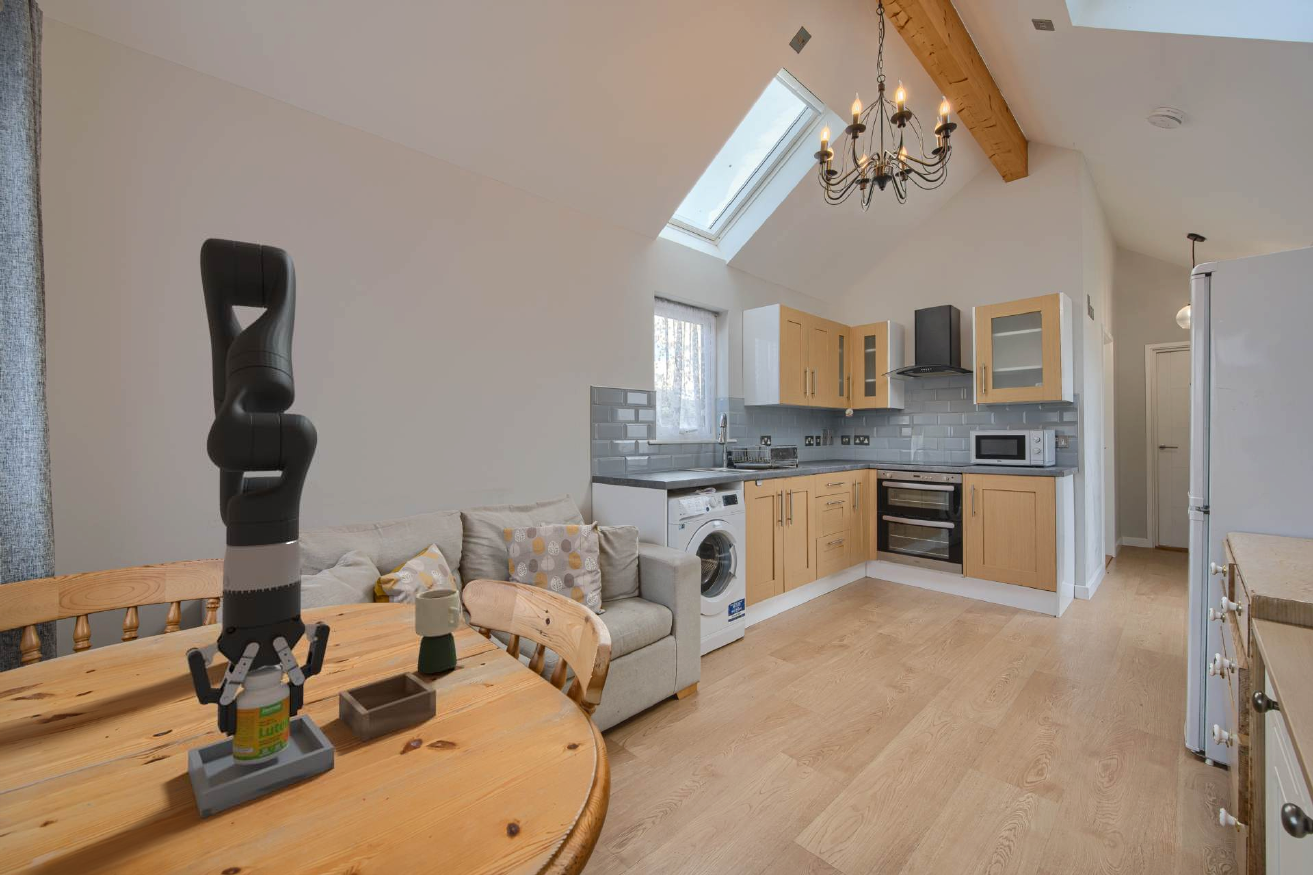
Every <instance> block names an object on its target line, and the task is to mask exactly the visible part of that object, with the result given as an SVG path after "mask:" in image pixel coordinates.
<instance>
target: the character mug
mask: <svg viewBox="0 0 1313 875" xmlns="http://www.w3.org/2000/svg"><path fill="white" fill-rule="evenodd" d="M414 600H415V606H414V608H415V610H414V614H415V615H414V616H415V618H414V620H415V621H414V622H415V623H414V628H415V629H414V631H415V634H416V635H417V636H419V637H420V636H421V637H422V638H421V640H420V645H419V650H418V659H417V667H416V668H417V670H418V672H419V673H422V674H433V673H438V672H441V671H446V670H449V669H452V668H455V667H456V666H457V664H458V660H457V651H456V650H457V649H456V644H455V637H454V635H453V633H452V632H454V631H456V630H457V629H458V628H459V626H460V625H461V624H460V621H461V620H460V617H461V616H460V615H461V614H460V606H461V604H460V591H459V590H458V589H453V588H440V589H439V588H438V589H431V590H426V591H422V592H418V593H417V594H416V595H415V599H414Z"/></svg>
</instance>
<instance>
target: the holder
mask: <svg viewBox="0 0 1313 875" xmlns="http://www.w3.org/2000/svg"><path fill="white" fill-rule="evenodd" d="M338 695H339V696H338V718H339V719H340V720H341V722H343V724H345V726H346V727H348V729H349V730H350V731H351V732H352V734H354V736H356V737H357V739H358V740H359V741H360V742H361V743H364V742H366V741H369V740H373V739H375V738H379V737H380V736H383V735H386V734H389V733H391V732H394V731H396V730H401V729H403V728H405V727H408V726H411V725H414V724H416V723H419V722H421V721H425V720H427V719H430V718H432V717H433V718H434V717H435V716H437V689H435V688H434V687H432V686H430V685H429V684H428V683H426V682H424V681H423V680H422V679H420V678H419V677H417V676H416V675H414V674H413V673H412V672H410V671H406V672H403V673H400V674H396V675H394V676H393V675H392V676H390V677H386V678H383V679H380V680H376V681H373V682H368V683H366V684H362V685H360V686H356V687H353V688H350V689H346V690H342V691H339V692H338Z"/></svg>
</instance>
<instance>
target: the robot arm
mask: <svg viewBox="0 0 1313 875" xmlns="http://www.w3.org/2000/svg"><path fill="white" fill-rule="evenodd" d="M199 254H200V256H199V266H200V278H201V284H202V285H201V286H202V291H203V298H204V305H205V310H206V318H207V324H208V330H209V337H210V348H211V364H212V365H211V370H212V393H213V394H212V395H213V408H214V416H215V418H214V420H213V423H212V424H211V426H210V429H209V432H208V435H207V439H206V452H207V456H208V457H209V459H210V460H211V462H212V463H213V465H215V467H217V468H218V469H219V512H220V517H221V518H220V519H221V521H222V523H223V525H224V526H225V529H226V530H225V532H226V533H225V534H226V535H225V539H226V540H225V542H226V543H225V544H226V546H225V554H224V558H223V563H222V564H223V565H222V621H221V622H222V623H221V626H222V628H221V631H220V632H221V633H220V634H219V636H218V638H217V640H216V642H213V643H210V644H208V645H205V646H202V647H199V648H198V647H196V646H195V647H191V648H189V649H188V650H187V651H186V653H185V656H186V660H187V665H188V668H189V672H190V677H191V679H192V684H193V687H194V691H195V694H196V698H197V700H198V703H199V704H200V705H202V706H206V705H208V704H214V705H215V704H216V705H217V721H216V722H217V727H218V730H219V731H220V733H221V734H224V733H225V735H226V737H227V738H230V737H233V735H235V725H236V702H235V701H234V699H235V697H236V695H237V692H238V689H239V688H240V685H241V683H242V682H243V680H244V678H245V676H246V673H247V671H248V672H249V671H253V670H257V669H259V668H261V667H263V666H274V665H278V664H279V665H282V666H283V671H285V674H286V676H287V678H288V679H289V680H288V681H287V682H286V683H287V684H288V685H289V687H290V718H294V717H298V711H299V710H302V709H303V706H304V697H305V696H304V693H305V692H304V691H305V690H304V687H305V686H304V685H305V682H306V681H307V679H309V678H311V677H312V676H317V675H318V674H320V673H321V671H322V668H323V664H324V659H325V656H326V649H327V646H328V641H329V637H330V631H331V627H330V626H329V624H327V623H325V622H324V621H321V620H319V621H317V622H316V623H312V624H309V623H308V624H305V623H304V621H303V620H302V615H301V614H302V612H301V611H302V610H301V609H302V608H301V607H302V574H303V567H302V554H301V547H300V546H301V545H300V505H301V501H302V500H301V499H302V492H303V488H304V485H305V480H306V479H307V474H308V473H309V472H308V471H309V469H310V467H311V463H312V461H313V458H314V456H315V453H316V449H317V445H318V433H317V429H316V427H315V425H314V424H313V422H312V421H311V420H310V419H309V418H308V417H307V416H305V415H302V414H297V413H285V412H286V411H287V410H290V408H291V407H292V406H293V404H294V402H295V397H296V390H295V380H294V370H293V361H292V360H293V359H292V358H293V357H292V356H293V355H292V353H293V352H292V350H293V337H294V328H295V321H296V320H295V318H296V317H295V316H296V303H297V302H296V301H297V281H296V280H297V279H296V269H295V265H294V264H295V263H294V261H293V258H292V257H291V255H290V253H289V252H287V251H285V249H283V248H279V247H276V246H273V245H267V244H266V245H265V244H259V243H254V242H253V243H251V242H245V241H238V240H231V239H223V238H215V237H211V238H207V239H206V240H205V241H204V242H203V243H202V245H201V248H200V252H199ZM235 306H236V307H245V308H246V307H247V308H249V307H250V308H256V309H257V308H259V309H263V308H264V309H266V310H265V311H264V312H263V313H262V314H261V315H260V316H259V317H258V318H257V319H256V320H255V321H253V322H252V323H250V324H249V325H248V326H247V327H246V328H245V329H243V328H242V326H241V323H240V322H239V320H238V318H237V315H236V313H235V311H234V308H233V307H235ZM277 471H279V472H281V474H280V476H278V475H277V476H249V477H248V476H247V477H246V476H244V474H245V472H246V473H247V472H248V473H249V472H251V473H252V472H277ZM304 635H306V640H307V641H308V642H309V649H308V651H307V656H306V661H305V664H304V665H302V666H301V667H300V666H299V663H298V662H297V659H296V658H295V656H294V654H293V652H292V651H293V650H294V649H295V647H296V646H297V644H298V643H299V641H300V640H301V639H302V637H303V636H304ZM217 653H220V654H221V655H223V656H224V658H226V659H227V661H228V662H227V668H226V670H225V673H224V676H223V680H222V682H221V683H220V686H219V687H218V688H216V687H211V683H210V682H211V681H210V679H209V674H208V671H207V667H210V666H211V665H212V664H213V663H214V656H215V655H216V654H217Z"/></svg>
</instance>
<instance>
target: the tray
mask: <svg viewBox="0 0 1313 875" xmlns="http://www.w3.org/2000/svg"><path fill="white" fill-rule="evenodd" d="M325 735H326V734H324V733H323V732H322V730H321V729H320V728H319V727H318V726H317V724H316V723H315V722H314V720H313V719H312V718H311V717H310V716H309V714H308V713H305V714H302V715H299V716H298V715H297V716H294V717H291V718H290V727H289V746H288V748H287V749H286V750H285V751H284V752H283V753H282V754H280V755H279V756H277V757H275V758H273V759H271V760H268V761H265V762H262V763H258V764H252V765H239V764H236V763H235V762H234V761H233V736H229V737H227V738H225V739H222V740H217V741H214V742H211V743H207V744H205V745H202V746H198V747H195V748H191V749H189V750H187V751H188V752H187V753H188V754H187V755H188V756H187V757H188V758H187V773H188V777H189V779H190V780H189V781H190V783H191V787H192V791H193V794H194V798H195V801H196V805H197V808H198V811H199V815H200V819H204V818H207V817H209V816H211V815H214V814H217V813H220V812H223V811H225V810H228V809H230V808H232V807H235V806H239V805H240V804H241V805H242V804H243V803H245V802H248V801H252V800H253V799H257V798H259V797H262V796H264V795H267V794H270V793H272V792H274V791H277V790H280V789H282V788H283V789H284V788H285V787H288V786H290V785H293V784H295V783H299V782H300V781H301V782H302V781H304V780H306V779H309V778H311V777H313V776H316V775H319V774H321V773H322V774H323V773H325V772H327V771H330V770H331V769H332V770H333V769H334V768H335V746H334V745H333V744H332V743H331V741H330V739H328V738H327V736H325Z"/></svg>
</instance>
